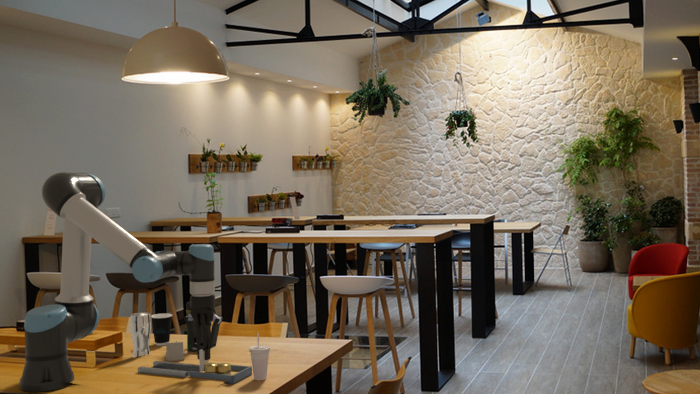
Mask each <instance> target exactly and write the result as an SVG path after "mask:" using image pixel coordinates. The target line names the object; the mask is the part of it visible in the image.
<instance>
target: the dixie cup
mask: <svg viewBox="0 0 700 394" xmlns="http://www.w3.org/2000/svg"><path fill="white" fill-rule="evenodd" d="M172 317H173V314H172V313H166V312H165V313H164V312H163V313H157V314H156V313H155V314H152V315H150V318H151V326H152V332H153V338H154V339H153V340H154V343H155V345H156V346H161V347H162V346H166V343H170V340H171V339H170V338H171V328H172Z"/></svg>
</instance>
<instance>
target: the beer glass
mask: <svg viewBox="0 0 700 394" xmlns="http://www.w3.org/2000/svg"><path fill="white" fill-rule="evenodd" d="M129 326H130V335H131V336H130V337H131V340H132V345H133V351H132V358H133V359H134V358H136V357H137V358H138V357H143V356H147V355H150V354H151V350H150V339H151V333H152V318H151V313H150V312H137V313H132V314H130V325H129Z"/></svg>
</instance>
